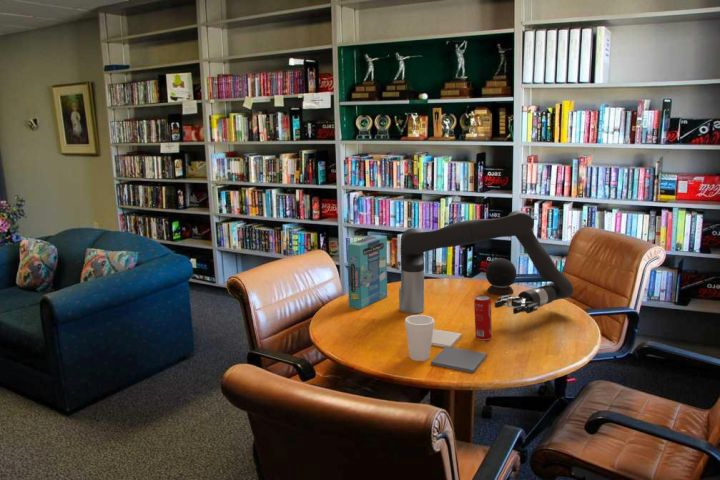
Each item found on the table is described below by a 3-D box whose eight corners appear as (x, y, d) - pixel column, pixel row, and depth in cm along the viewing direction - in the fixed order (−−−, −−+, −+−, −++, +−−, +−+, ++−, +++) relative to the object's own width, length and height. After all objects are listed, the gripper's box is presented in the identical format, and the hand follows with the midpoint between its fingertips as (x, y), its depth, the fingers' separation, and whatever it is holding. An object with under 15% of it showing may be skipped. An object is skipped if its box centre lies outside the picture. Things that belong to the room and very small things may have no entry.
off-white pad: (417, 342, 206) (417, 339, 205) (430, 331, 216) (430, 328, 216) (450, 348, 200) (450, 345, 200) (461, 336, 210) (461, 333, 210)
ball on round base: (482, 294, 257) (483, 261, 254) (488, 285, 269) (489, 254, 266) (513, 297, 252) (514, 263, 249) (517, 288, 264) (519, 256, 261)
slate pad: (431, 364, 188) (431, 361, 187) (446, 348, 200) (446, 346, 199) (473, 373, 181) (473, 370, 181) (486, 356, 193) (486, 353, 193)
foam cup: (403, 352, 198) (403, 315, 195) (430, 350, 198) (430, 314, 196) (407, 363, 188) (408, 325, 186) (436, 362, 189) (436, 324, 186)
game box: (375, 294, 260) (375, 234, 254) (387, 296, 256) (387, 236, 250) (348, 307, 244) (346, 243, 238) (360, 309, 240) (359, 245, 234)
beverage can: (492, 341, 205) (493, 300, 202) (473, 340, 206) (474, 299, 203) (491, 335, 211) (493, 295, 208) (473, 334, 212) (474, 294, 209)
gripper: (518, 285, 227) (489, 293, 218) (549, 293, 216) (520, 303, 207) (517, 303, 229) (489, 312, 220) (548, 313, 218) (520, 323, 208)
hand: (504, 308), depth 213 cm, fingers open, 8 cm apart
